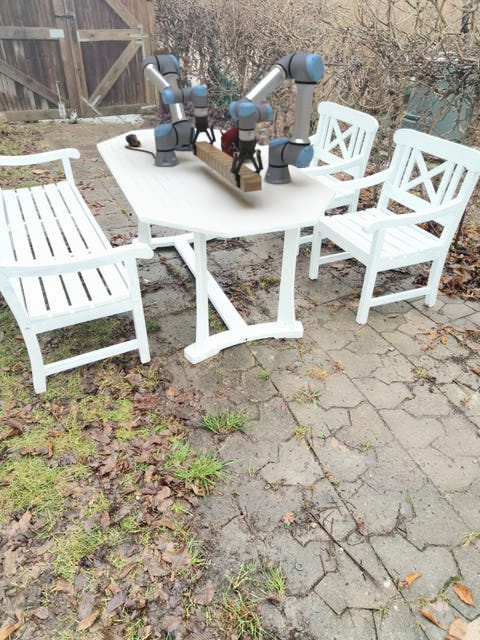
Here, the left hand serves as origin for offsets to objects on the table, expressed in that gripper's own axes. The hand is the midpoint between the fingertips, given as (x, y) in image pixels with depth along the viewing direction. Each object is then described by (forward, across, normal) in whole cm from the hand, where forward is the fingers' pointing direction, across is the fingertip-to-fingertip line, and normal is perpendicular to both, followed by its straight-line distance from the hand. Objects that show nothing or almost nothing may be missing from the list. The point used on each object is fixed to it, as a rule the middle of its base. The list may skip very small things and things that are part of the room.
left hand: (203, 154), depth 275 cm
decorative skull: (+10, +30, +14) cm, 34 cm away
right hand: (-1, 0, -66) cm, 66 cm away
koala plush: (+10, +6, +58) cm, 59 cm away
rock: (+10, -26, +82) cm, 86 cm away
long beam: (0, 0, -33) cm, 33 cm away
